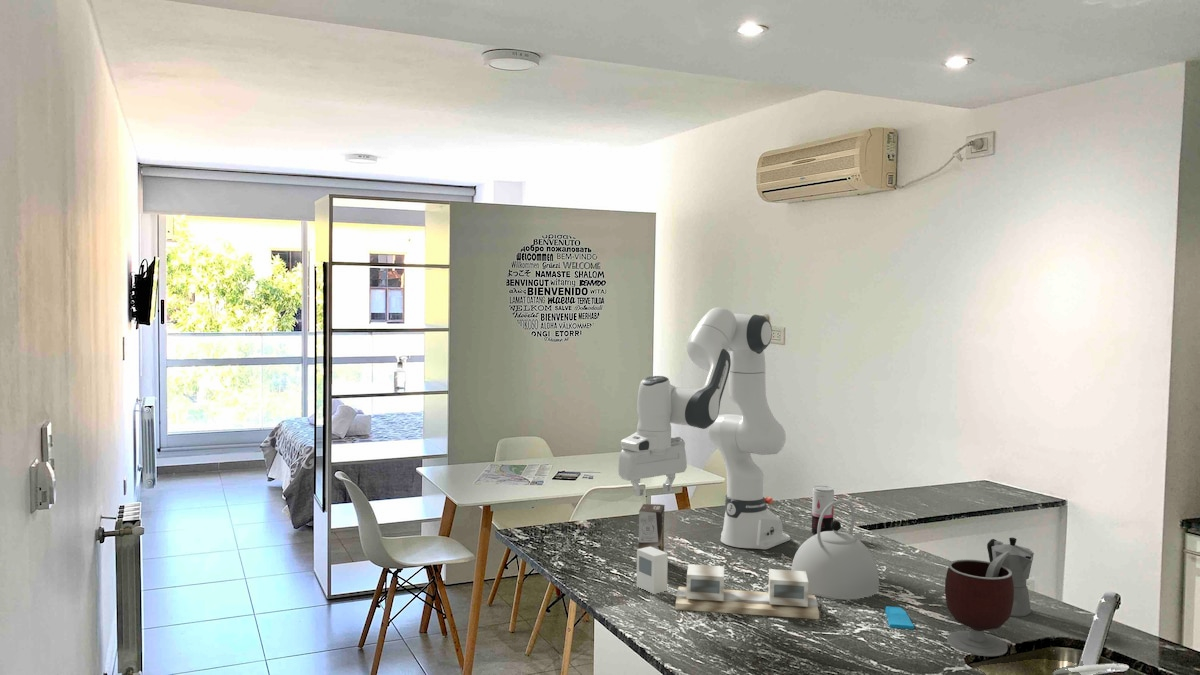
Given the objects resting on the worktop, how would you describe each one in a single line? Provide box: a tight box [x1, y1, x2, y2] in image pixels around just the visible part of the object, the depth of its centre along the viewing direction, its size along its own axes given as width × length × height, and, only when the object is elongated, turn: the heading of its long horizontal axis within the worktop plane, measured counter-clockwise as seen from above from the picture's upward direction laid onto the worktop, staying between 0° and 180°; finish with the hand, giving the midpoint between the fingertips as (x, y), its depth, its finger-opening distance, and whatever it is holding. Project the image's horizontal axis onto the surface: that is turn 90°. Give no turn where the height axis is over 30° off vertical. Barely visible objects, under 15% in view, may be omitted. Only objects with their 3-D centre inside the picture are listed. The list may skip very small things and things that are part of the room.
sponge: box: [884, 606, 915, 630], centre depth 205 cm, size 2×12×6 cm
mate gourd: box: [944, 551, 1014, 657], centre depth 191 cm, size 16×14×20 cm
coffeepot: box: [986, 537, 1035, 618], centre depth 213 cm, size 15×9×18 cm, turn 13°
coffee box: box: [637, 503, 665, 552], centre depth 244 cm, size 9×6×16 cm
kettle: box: [790, 499, 880, 600], centre depth 229 cm, size 25×23×22 cm
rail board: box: [674, 563, 820, 620], centre depth 213 cm, size 34×12×8 cm, turn 81°
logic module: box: [636, 546, 669, 595], centre depth 224 cm, size 5×7×10 cm, turn 36°
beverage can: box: [811, 485, 835, 536], centre depth 275 cm, size 6×6×15 cm
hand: (653, 493), depth 222 cm, fingers open, 8 cm apart
